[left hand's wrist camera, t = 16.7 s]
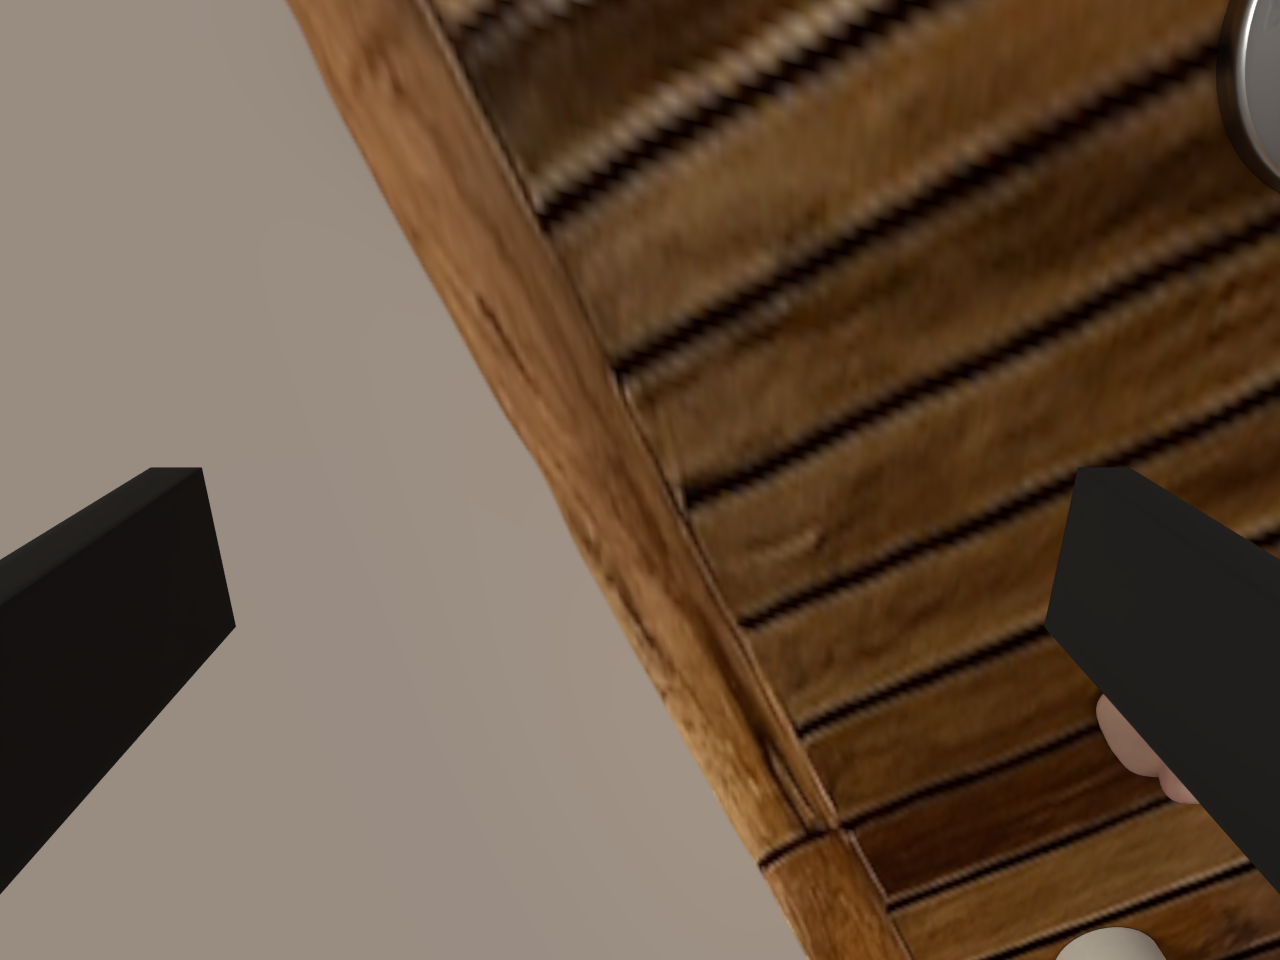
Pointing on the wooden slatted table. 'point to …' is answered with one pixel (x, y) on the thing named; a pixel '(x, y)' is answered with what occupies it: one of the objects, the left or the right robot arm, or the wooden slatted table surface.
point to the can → (1112, 946)
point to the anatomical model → (1138, 752)
